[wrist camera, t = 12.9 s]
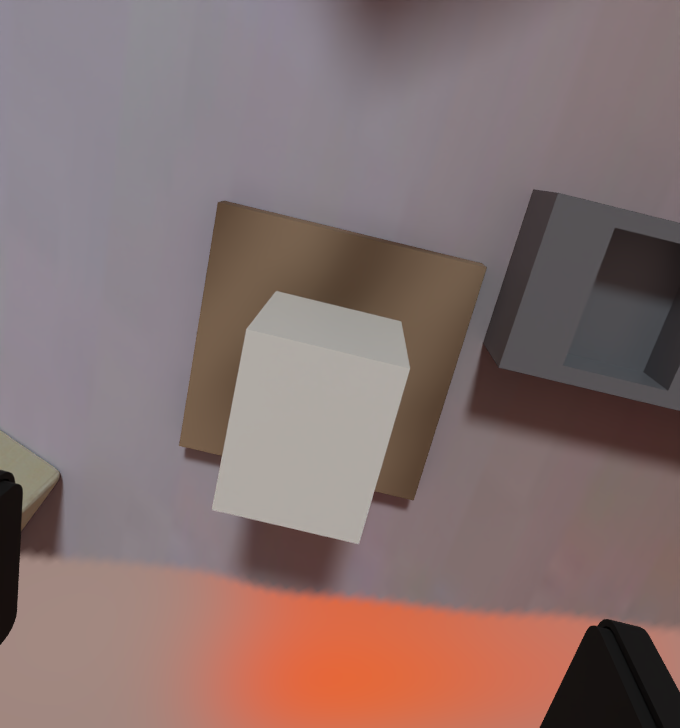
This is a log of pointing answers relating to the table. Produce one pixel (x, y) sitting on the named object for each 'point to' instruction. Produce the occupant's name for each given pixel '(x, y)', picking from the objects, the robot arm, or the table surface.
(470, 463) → the table surface
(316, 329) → the block
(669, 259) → the power strip
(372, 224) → the table surface
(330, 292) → the pad
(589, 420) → the table surface
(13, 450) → the tall wooden block
